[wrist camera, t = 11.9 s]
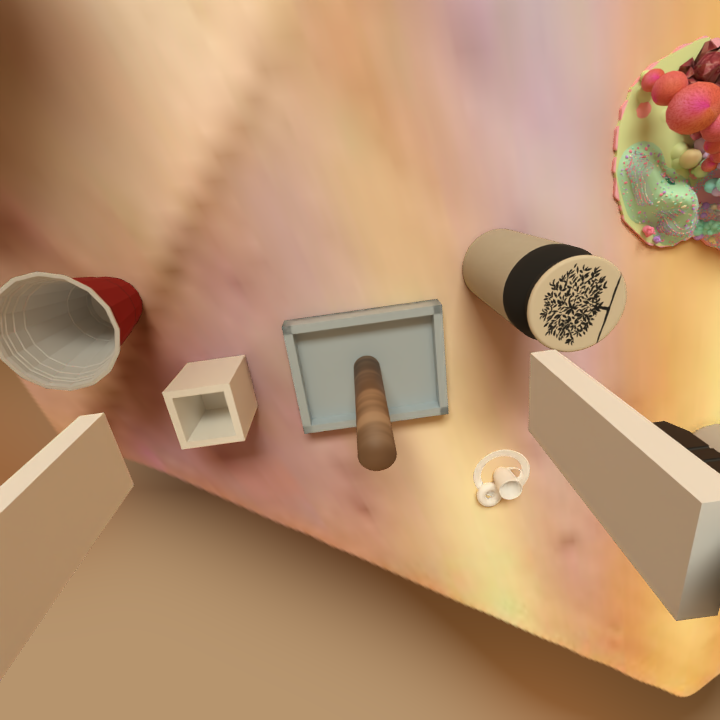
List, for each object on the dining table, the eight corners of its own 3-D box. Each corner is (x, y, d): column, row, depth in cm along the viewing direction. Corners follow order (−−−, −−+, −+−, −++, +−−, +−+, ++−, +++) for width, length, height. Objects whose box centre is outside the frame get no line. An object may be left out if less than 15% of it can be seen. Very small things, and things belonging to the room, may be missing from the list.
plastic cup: (186, 297, 48) (141, 331, 37) (134, 363, 51) (77, 412, 40) (99, 230, 45) (21, 245, 34) (48, 303, 48) (-39, 339, 37)
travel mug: (451, 289, 49) (508, 341, 33) (476, 219, 47) (553, 238, 30) (514, 306, 51) (600, 366, 34) (542, 239, 48) (651, 268, 31)
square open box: (187, 362, 51) (161, 392, 44) (244, 354, 51) (229, 383, 44) (203, 413, 54) (181, 449, 47) (257, 405, 54) (245, 440, 47)
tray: (284, 320, 50) (281, 327, 48) (437, 299, 50) (441, 304, 48) (305, 423, 55) (304, 433, 53) (443, 404, 55) (448, 413, 53)
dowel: (351, 357, 51) (355, 440, 35) (378, 353, 51) (394, 435, 35) (355, 381, 52) (360, 473, 36) (381, 377, 52) (398, 468, 36)
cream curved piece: (483, 505, 62) (492, 526, 59) (457, 468, 60) (465, 487, 56) (537, 477, 61) (550, 496, 57) (513, 437, 58) (525, 455, 54)
